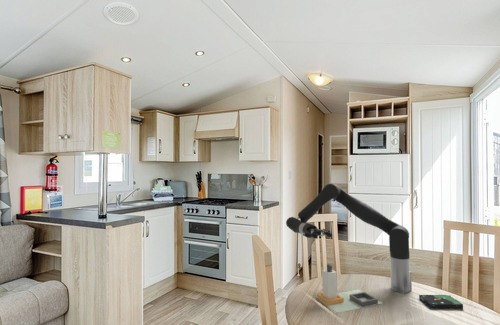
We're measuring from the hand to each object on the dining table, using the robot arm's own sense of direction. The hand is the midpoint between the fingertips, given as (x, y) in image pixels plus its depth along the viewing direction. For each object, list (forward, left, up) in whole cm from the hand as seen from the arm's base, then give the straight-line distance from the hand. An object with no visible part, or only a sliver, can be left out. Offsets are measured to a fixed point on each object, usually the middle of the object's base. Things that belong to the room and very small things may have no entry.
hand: (324, 236), depth 155 cm
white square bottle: (+3, +9, -29) cm, 30 cm away
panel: (-5, +12, -30) cm, 33 cm away
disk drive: (-44, +30, -31) cm, 61 cm away
